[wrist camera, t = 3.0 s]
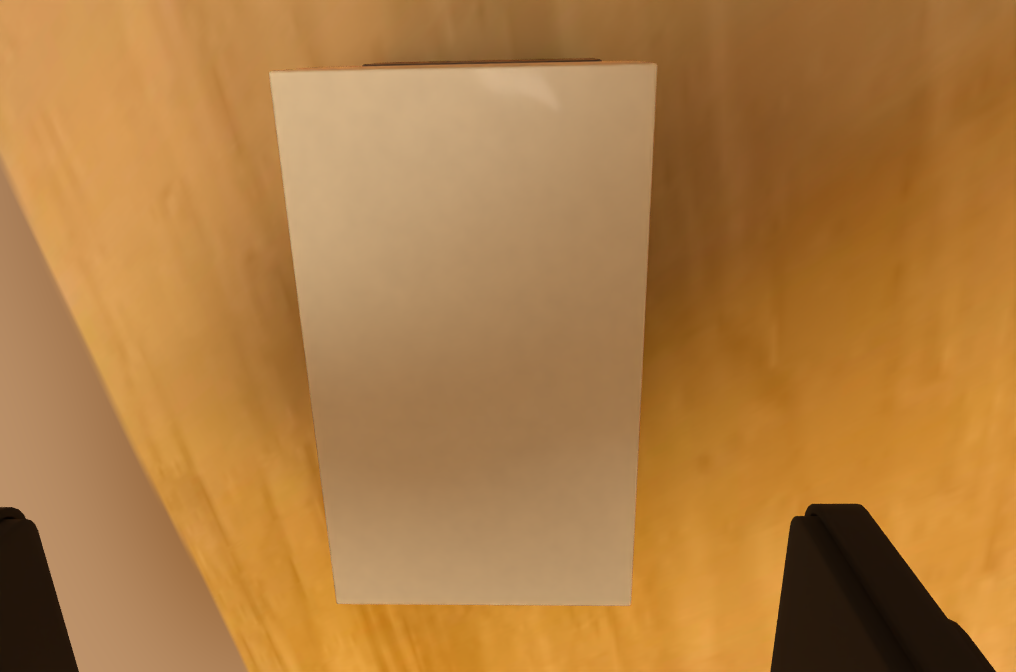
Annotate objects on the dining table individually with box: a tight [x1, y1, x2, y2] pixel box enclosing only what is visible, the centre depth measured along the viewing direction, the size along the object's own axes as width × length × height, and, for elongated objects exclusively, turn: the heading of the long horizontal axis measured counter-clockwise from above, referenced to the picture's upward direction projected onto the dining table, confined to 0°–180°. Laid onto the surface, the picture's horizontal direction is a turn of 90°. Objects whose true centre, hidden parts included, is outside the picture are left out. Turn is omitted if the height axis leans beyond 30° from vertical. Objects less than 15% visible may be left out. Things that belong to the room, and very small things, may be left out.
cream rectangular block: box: [269, 61, 657, 606], centre depth 17 cm, size 12×7×3 cm, turn 1°
